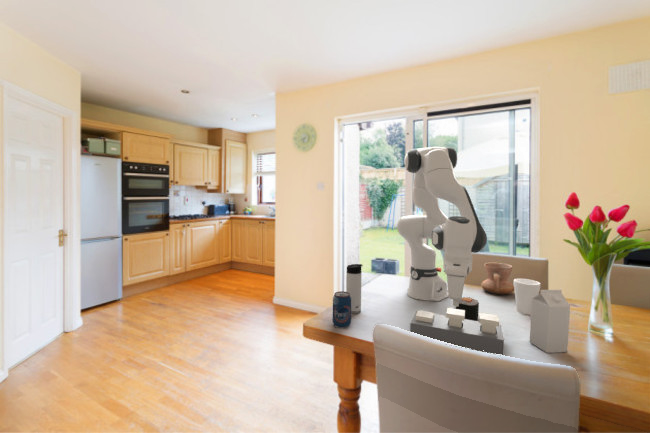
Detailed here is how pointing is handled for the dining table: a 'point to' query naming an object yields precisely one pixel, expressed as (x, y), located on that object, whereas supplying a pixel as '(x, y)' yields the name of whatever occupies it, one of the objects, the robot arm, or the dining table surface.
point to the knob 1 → (425, 316)
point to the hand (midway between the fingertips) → (456, 305)
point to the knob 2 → (488, 322)
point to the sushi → (469, 308)
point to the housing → (460, 334)
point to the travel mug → (354, 286)
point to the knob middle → (455, 317)
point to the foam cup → (525, 294)
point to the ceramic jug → (498, 278)
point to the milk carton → (550, 321)
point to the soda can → (342, 309)
